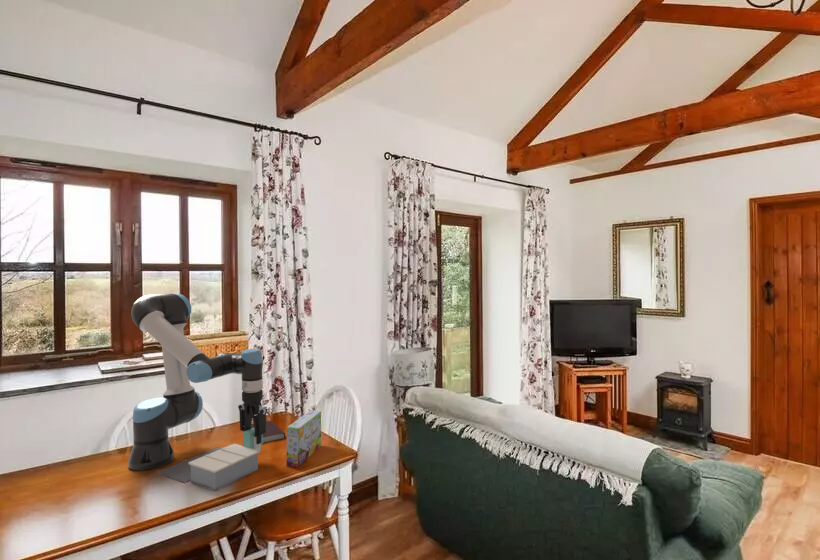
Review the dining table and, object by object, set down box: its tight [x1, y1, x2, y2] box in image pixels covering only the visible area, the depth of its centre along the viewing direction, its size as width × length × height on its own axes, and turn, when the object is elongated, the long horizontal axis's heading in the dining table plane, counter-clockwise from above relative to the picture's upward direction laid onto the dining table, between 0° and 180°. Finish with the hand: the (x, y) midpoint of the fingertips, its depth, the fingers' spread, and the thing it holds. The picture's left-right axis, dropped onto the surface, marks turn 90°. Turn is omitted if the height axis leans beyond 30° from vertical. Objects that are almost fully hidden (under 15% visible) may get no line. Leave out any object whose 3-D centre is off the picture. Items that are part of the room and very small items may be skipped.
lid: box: [188, 428, 264, 473], centre depth 160 cm, size 14×25×6 cm, turn 151°
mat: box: [156, 446, 222, 484], centre depth 167 cm, size 16×26×1 cm, turn 151°
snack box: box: [285, 410, 322, 468], centre depth 174 cm, size 21×6×15 cm, turn 168°
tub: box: [190, 453, 259, 492], centre depth 157 cm, size 13×18×6 cm
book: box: [251, 420, 286, 443], centre depth 197 cm, size 12×19×3 cm, turn 34°
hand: (253, 450), depth 168 cm, fingers closed on lid, 4 cm apart
